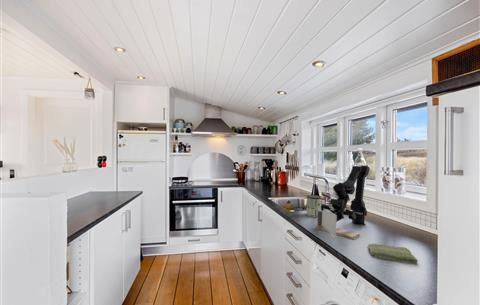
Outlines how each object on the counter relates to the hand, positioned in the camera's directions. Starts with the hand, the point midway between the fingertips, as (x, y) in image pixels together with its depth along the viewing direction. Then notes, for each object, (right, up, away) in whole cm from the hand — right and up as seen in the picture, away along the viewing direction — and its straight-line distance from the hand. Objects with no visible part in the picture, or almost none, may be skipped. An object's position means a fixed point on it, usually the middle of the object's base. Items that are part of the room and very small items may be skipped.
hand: (332, 224), depth 126 cm
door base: (+5, -6, +5) cm, 9 cm away
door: (-1, -5, +3) cm, 6 cm away
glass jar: (+3, -6, +41) cm, 41 cm away
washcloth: (+17, -7, -23) cm, 30 cm away
